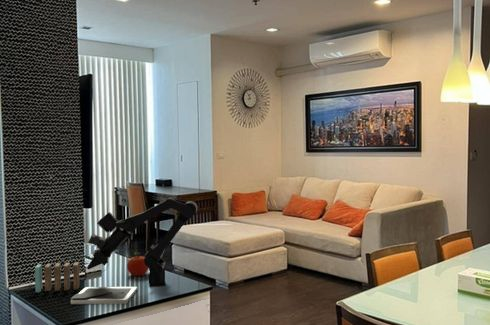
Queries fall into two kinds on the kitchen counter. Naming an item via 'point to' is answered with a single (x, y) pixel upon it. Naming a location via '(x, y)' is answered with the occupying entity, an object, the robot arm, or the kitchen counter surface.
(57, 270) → the domino
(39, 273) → the domino
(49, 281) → the domino
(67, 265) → the domino
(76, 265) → the domino
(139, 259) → the fruit
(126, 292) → the picture frame
